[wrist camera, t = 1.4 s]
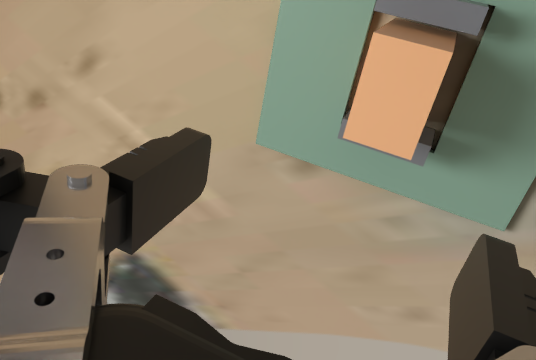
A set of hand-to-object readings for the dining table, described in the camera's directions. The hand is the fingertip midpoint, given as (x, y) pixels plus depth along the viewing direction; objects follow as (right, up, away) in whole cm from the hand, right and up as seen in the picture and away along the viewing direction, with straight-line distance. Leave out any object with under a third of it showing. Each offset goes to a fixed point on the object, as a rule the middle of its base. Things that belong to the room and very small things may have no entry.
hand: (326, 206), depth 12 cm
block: (+8, +8, +17) cm, 21 cm away
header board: (+8, +8, +17) cm, 21 cm away
